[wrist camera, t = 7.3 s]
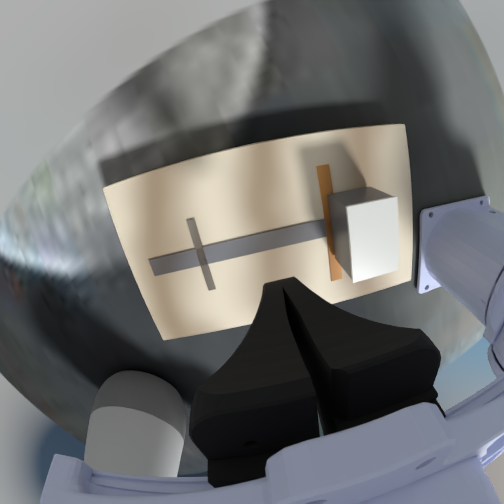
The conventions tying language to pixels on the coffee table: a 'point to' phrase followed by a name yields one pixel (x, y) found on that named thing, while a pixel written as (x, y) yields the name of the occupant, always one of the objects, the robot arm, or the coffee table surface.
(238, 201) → the console
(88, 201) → the coffee table surface
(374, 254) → the fader tab
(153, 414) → the smart speaker
